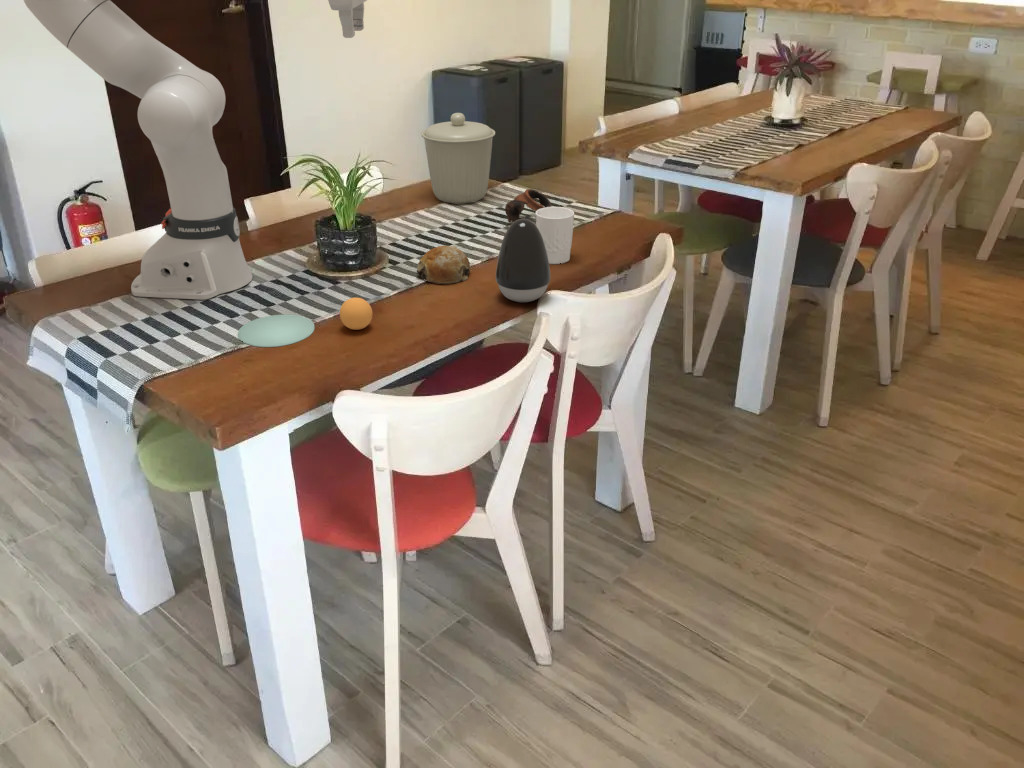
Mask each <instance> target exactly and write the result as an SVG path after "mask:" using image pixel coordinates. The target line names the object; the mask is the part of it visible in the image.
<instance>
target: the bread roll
mask: <svg viewBox="0 0 1024 768" xmlns="http://www.w3.org/2000/svg"><path fill="white" fill-rule="evenodd" d="M470 268H471V264H470V261H469V258H468V256H467V255H466V253H464V251H462V250H461V249H458V248H457V247H456V245H455V246H454V245H450V246H449V245H438V246H436V247H434V248H431V249H429V250H428V251H426V252H425V254H424V255H423V256H422V257H421V258H420V259H419V261H418V265H417V267H416V273H417V275H419V276H420V277H421V279H422V278H423V279H422V280H424V279H425V280H424V281H426V282H428V283H433V284H436V285H440V284H443V285H450V284H451V285H452V284H457V283H460V282H465V281H466V280H468V278H469V277H468V276H469V275H470V272H471V271H470V270H471V269H470Z"/></svg>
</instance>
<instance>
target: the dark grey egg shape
mask: <svg viewBox="0 0 1024 768" xmlns="http://www.w3.org/2000/svg"><path fill="white" fill-rule="evenodd" d="M523 217H524V218H519V219H518V220H516V221H514V222H513V221H512V222H511V224H510V225H509V226H508V228H507V230H506V231H505V234H504V237H503V239H502V242H501V246H500V248H499V249H500V250H499V253H498V257H497V261H496V268H495V269H496V270H495V282H496V283H497V285H498V289H499V291H500V292H501V293H502V295H503V296H504V297H505V298H506V299H508V300H510V301H513V302H516V303H529V302H530V303H531V302H533V301H535V300H536V301H537V300H538V299H539V298H541V297H542V296H543V295H544V294H545V292H546V290H547V289H548V286H549V283H550V281H551V269H550V264H549V261H548V256H547V251H546V248H545V244H544V241H543V238H542V235H541V233H540V231H539V229H538V228H537V226H536V223H534V222H533V221H532V220H531V217H530V216H529V215H528V214H527V215H525V216H523Z"/></svg>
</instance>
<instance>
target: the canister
mask: <svg viewBox="0 0 1024 768" xmlns="http://www.w3.org/2000/svg"><path fill="white" fill-rule="evenodd" d="M420 134H421V137H422V138H423V139H424V146H425V152H426V159H427V165H428V172H429V177H430V183H431V187H432V192H433V195H434V196H435V197H436V198H437V200H439V201H442V202H444V203H447V204H462V205H463V204H472V203H475V202H478V201H480V200H482V199H483V198H484V197H485V195H486V194H487V191H488V187H489V180H490V171H491V160H492V149H493V137H494V136H495V135H496V131H495V130H494V129H493V128H491V127H489V125H487V124H484V123H481V122H478V121H477V122H476V121H467V120H466V117H465V115H464V113H462V112H455V113H454V112H453V114H451V115H450V121H444V122H443V121H442V122H438V123H437V122H436V123H434V124H432V125H429V126H428V127H427V128H425V129H424V130H423V131H421V133H420Z"/></svg>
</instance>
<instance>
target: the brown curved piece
mask: <svg viewBox="0 0 1024 768" xmlns="http://www.w3.org/2000/svg"><path fill="white" fill-rule="evenodd" d="M537 199H538V201H539V202H537V201H536V200H537ZM525 204H526V205H525ZM525 206H526V207H527V208H529V209H531V210H532V211H535V212H536V211H537V210H539V209H541V208H546V207H553V205H552V203H551V201H550V200H549V199H548V198H547V197H546V195H544V194H542V193H541V192H539V191H538V190H535V189H530V188H529V189H528V188H527V189H526V190H524V192H523V193H519V194H518V195H516V196H515V198H513V199H512V200H510V201H509V202H507V203H506V205H505V208H504V211H505V214H506V216H507V217H506V218H507V219H506V220H507V222H508V223H513V222H514V221H516V220H518V219H520V215H521V214H522V213H523V211H524V209H525Z"/></svg>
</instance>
